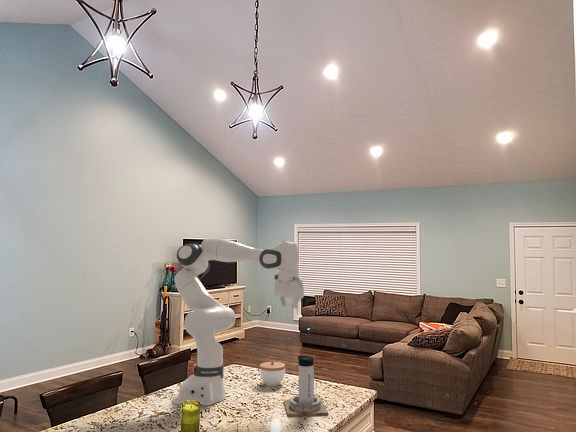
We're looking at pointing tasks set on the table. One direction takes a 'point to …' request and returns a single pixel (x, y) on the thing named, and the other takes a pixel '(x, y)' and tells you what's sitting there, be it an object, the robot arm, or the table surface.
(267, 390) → the table surface
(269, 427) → the table surface
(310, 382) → the travel mug
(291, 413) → the collar board
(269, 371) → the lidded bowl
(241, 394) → the table surface
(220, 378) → the robot arm
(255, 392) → the table surface
